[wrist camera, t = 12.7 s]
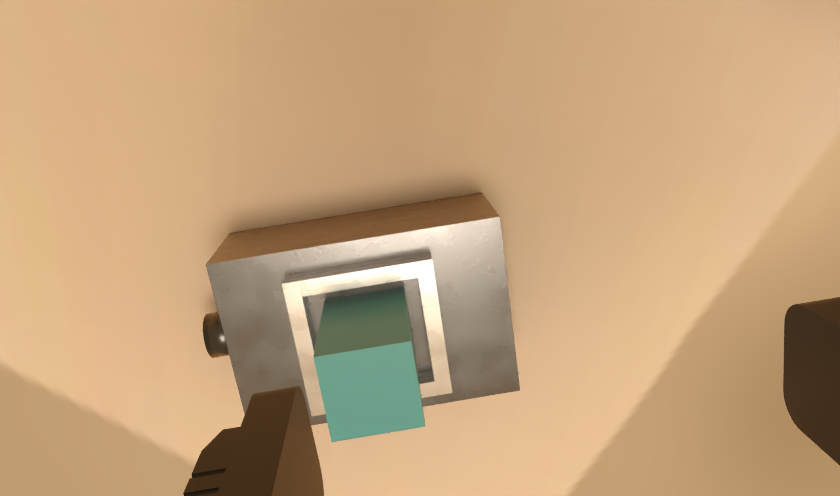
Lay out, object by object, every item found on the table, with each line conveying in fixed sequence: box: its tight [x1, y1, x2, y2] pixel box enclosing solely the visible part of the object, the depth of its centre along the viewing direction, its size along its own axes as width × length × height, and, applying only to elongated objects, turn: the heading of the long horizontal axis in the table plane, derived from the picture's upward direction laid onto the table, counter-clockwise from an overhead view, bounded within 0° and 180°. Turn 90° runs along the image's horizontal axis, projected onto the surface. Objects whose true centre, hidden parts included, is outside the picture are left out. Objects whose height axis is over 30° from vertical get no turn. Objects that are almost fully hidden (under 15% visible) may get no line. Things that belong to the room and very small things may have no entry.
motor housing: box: [203, 193, 520, 425], centre depth 44 cm, size 20×12×8 cm, turn 99°
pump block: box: [313, 287, 425, 442], centre depth 38 cm, size 5×5×8 cm
